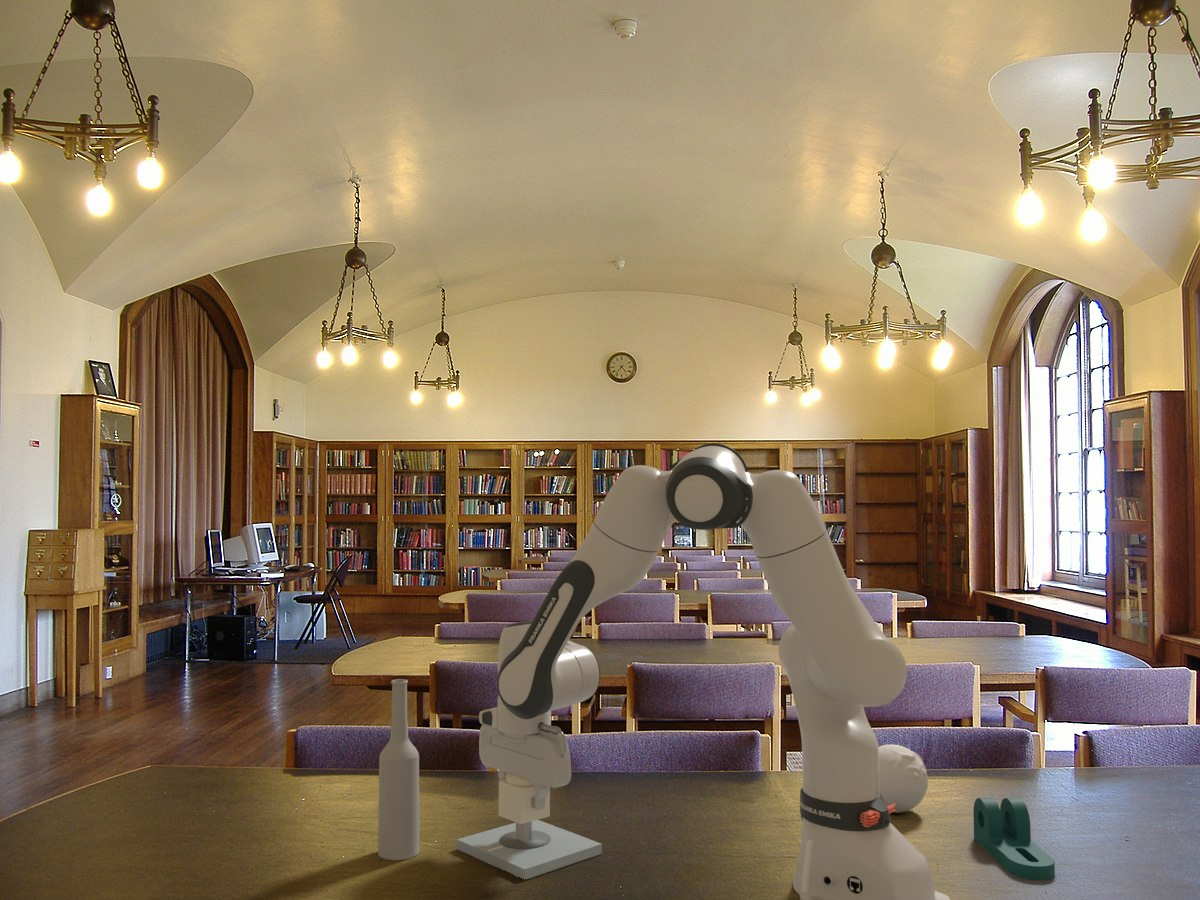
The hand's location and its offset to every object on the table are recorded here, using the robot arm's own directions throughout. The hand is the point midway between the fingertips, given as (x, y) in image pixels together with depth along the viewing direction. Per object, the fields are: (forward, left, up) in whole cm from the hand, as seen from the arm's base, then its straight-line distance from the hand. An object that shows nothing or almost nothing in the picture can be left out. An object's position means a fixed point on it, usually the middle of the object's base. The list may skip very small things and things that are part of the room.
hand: (523, 803), depth 163 cm
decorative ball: (-31, -62, -8) cm, 70 cm away
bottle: (+13, +16, -8) cm, 22 cm away
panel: (-1, 0, -8) cm, 8 cm away
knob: (0, 0, -2) cm, 2 cm away
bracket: (-57, -55, -8) cm, 80 cm away
